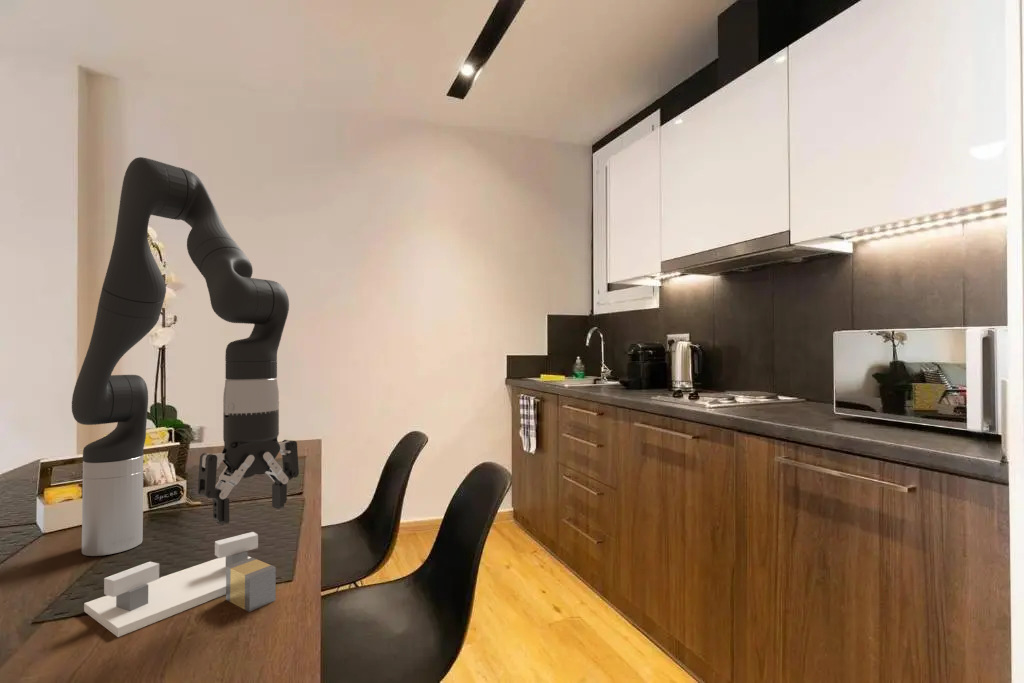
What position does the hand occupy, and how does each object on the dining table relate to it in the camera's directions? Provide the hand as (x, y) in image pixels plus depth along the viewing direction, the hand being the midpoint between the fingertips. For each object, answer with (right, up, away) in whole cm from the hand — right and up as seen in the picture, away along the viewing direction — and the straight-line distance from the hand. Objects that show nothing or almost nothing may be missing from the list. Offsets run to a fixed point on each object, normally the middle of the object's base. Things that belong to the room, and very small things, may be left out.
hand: (251, 515), depth 76 cm
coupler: (0, -13, 0) cm, 13 cm away
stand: (-11, -13, +3) cm, 17 cm away
